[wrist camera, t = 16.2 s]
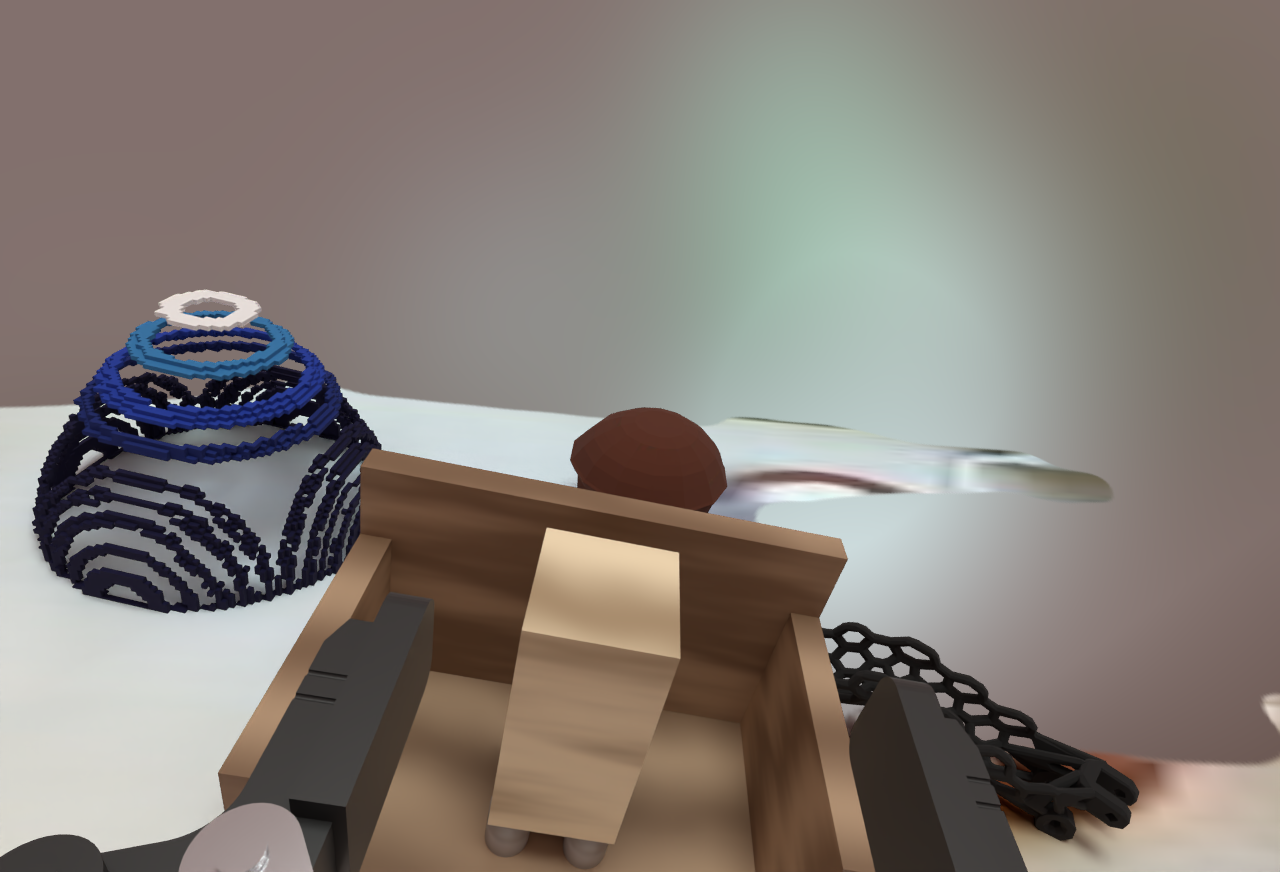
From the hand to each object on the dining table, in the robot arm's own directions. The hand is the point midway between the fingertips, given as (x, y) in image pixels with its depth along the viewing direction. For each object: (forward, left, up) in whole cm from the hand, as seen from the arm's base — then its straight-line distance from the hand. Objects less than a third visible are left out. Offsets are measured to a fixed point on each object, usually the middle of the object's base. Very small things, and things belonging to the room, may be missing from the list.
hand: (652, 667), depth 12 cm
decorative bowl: (+7, -37, -24) cm, 45 cm away
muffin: (-19, -27, -24) cm, 41 cm away
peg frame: (-5, -9, -24) cm, 26 cm away
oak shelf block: (-5, -9, -21) cm, 23 cm away
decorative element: (-28, -6, -25) cm, 38 cm away
